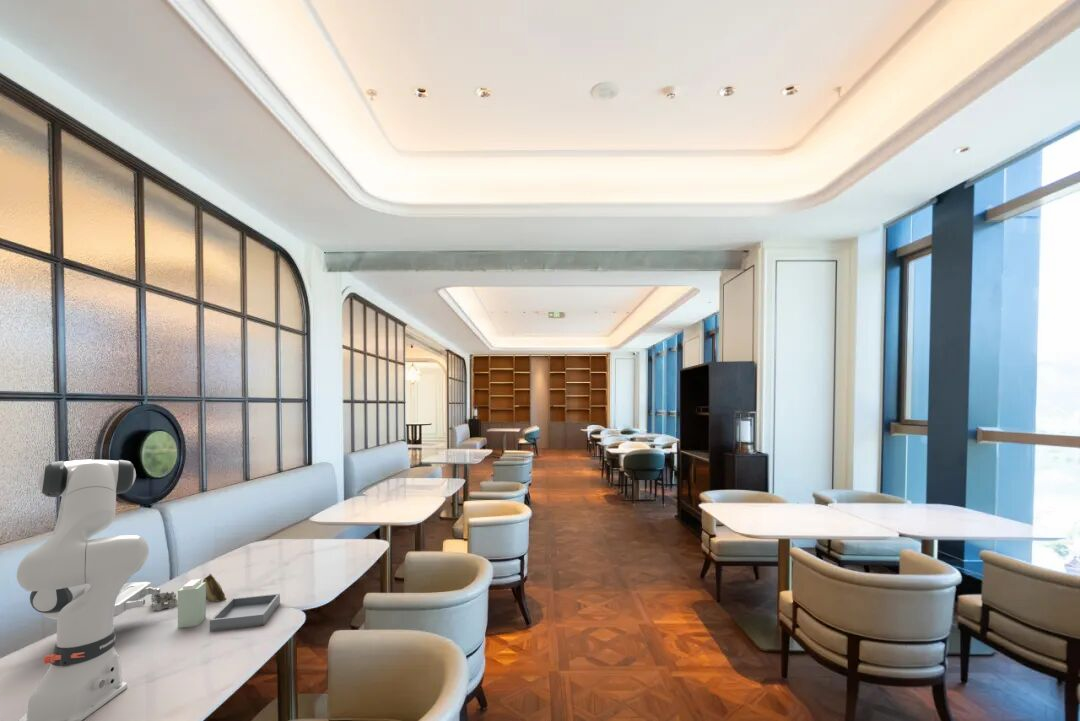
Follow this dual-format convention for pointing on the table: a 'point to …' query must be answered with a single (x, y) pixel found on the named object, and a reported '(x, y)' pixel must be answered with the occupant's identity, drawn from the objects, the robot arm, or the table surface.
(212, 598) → the rock
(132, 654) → the table surface
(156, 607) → the grey carved figurine
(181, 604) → the juice carton
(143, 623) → the table surface
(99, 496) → the robot arm
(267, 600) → the tray
